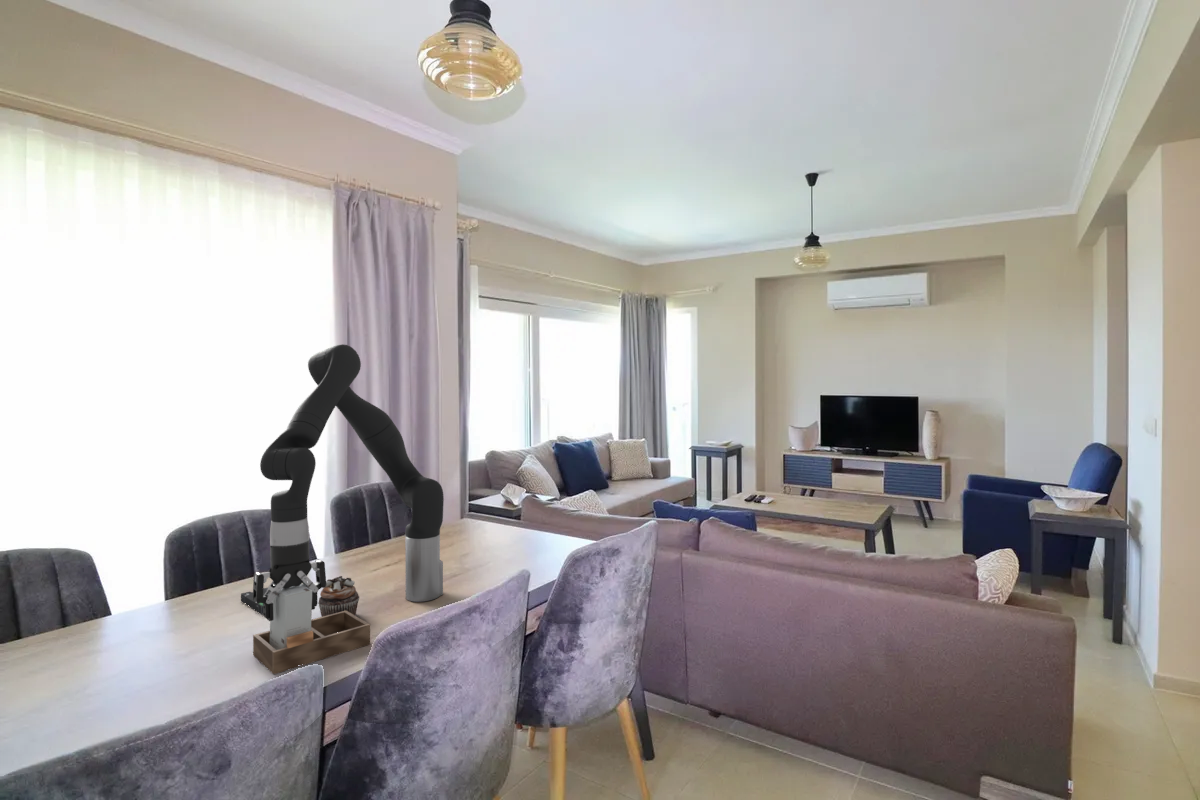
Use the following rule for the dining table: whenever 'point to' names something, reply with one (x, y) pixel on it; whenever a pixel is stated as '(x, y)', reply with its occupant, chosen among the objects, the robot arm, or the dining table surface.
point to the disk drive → (253, 604)
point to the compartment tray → (314, 642)
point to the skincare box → (290, 614)
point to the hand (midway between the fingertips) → (291, 614)
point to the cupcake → (338, 597)
